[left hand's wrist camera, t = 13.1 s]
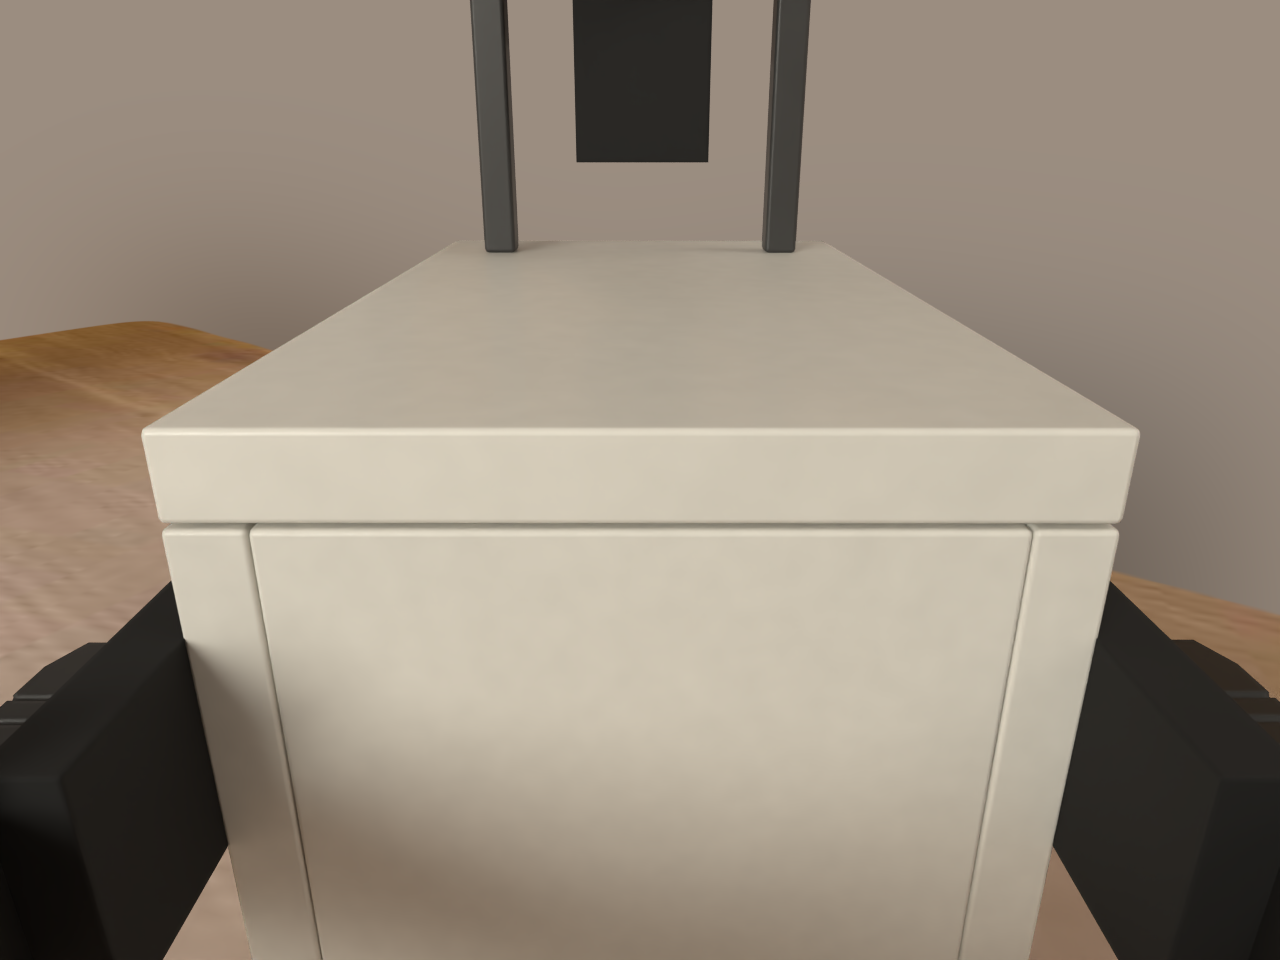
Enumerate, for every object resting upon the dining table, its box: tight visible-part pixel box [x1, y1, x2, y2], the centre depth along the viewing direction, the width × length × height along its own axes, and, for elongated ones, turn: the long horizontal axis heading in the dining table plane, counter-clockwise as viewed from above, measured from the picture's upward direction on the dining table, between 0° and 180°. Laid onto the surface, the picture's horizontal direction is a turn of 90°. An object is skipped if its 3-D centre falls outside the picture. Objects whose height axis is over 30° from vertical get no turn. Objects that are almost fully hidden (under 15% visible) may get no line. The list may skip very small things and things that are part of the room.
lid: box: [141, 0, 1140, 523], centre depth 14 cm, size 16×9×9 cm, turn 0°
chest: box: [162, 523, 1119, 960], centre depth 17 cm, size 15×9×9 cm, turn 0°
